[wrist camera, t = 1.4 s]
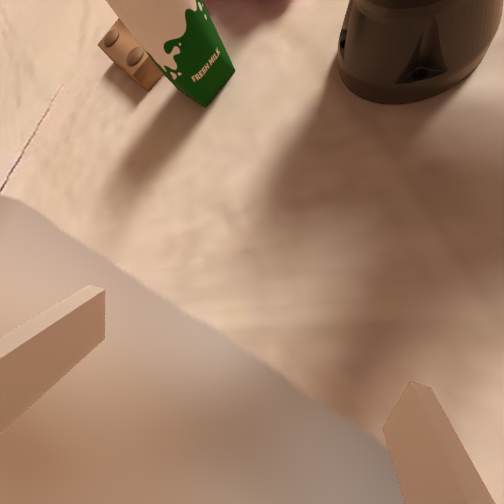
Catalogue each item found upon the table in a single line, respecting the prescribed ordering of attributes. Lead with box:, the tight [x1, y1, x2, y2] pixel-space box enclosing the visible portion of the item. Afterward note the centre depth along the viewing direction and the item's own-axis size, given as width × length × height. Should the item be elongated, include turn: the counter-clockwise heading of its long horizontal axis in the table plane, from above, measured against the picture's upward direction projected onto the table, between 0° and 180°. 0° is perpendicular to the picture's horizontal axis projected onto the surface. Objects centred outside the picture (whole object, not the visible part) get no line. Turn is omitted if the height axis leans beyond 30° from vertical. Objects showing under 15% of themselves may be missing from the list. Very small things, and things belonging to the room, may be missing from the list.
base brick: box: [98, 18, 164, 92], centre depth 45 cm, size 14×14×4 cm
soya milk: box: [106, 0, 235, 107], centre depth 31 cm, size 9×9×20 cm
